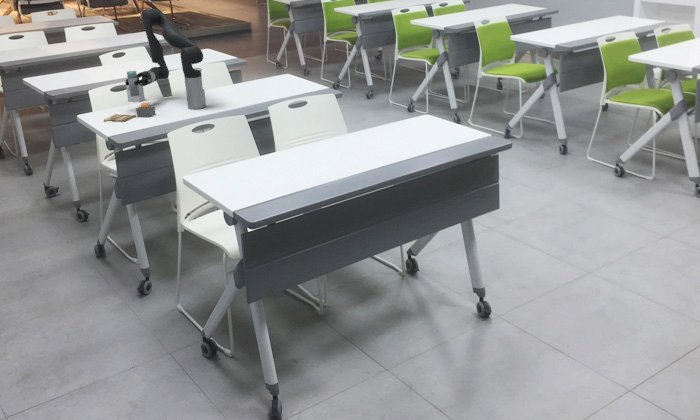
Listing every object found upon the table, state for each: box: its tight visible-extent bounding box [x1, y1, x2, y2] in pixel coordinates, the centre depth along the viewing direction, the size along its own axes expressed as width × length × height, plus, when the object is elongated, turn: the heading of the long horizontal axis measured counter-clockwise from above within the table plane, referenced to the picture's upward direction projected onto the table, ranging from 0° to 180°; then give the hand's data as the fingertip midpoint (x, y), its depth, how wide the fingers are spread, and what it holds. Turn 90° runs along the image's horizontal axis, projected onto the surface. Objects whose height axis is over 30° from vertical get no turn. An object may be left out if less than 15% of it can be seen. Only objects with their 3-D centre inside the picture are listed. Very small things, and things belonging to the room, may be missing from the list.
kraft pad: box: [103, 113, 137, 123], centre depth 387 cm, size 12×12×1 cm
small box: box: [125, 84, 146, 103], centre depth 429 cm, size 8×6×10 cm
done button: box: [140, 102, 150, 108], centre depth 391 cm, size 4×4×3 cm
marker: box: [126, 70, 140, 96], centre depth 398 cm, size 5×5×13 cm
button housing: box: [136, 105, 156, 118], centre depth 392 cm, size 7×7×4 cm
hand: (130, 83), depth 395 cm, fingers closed on marker, 4 cm apart
